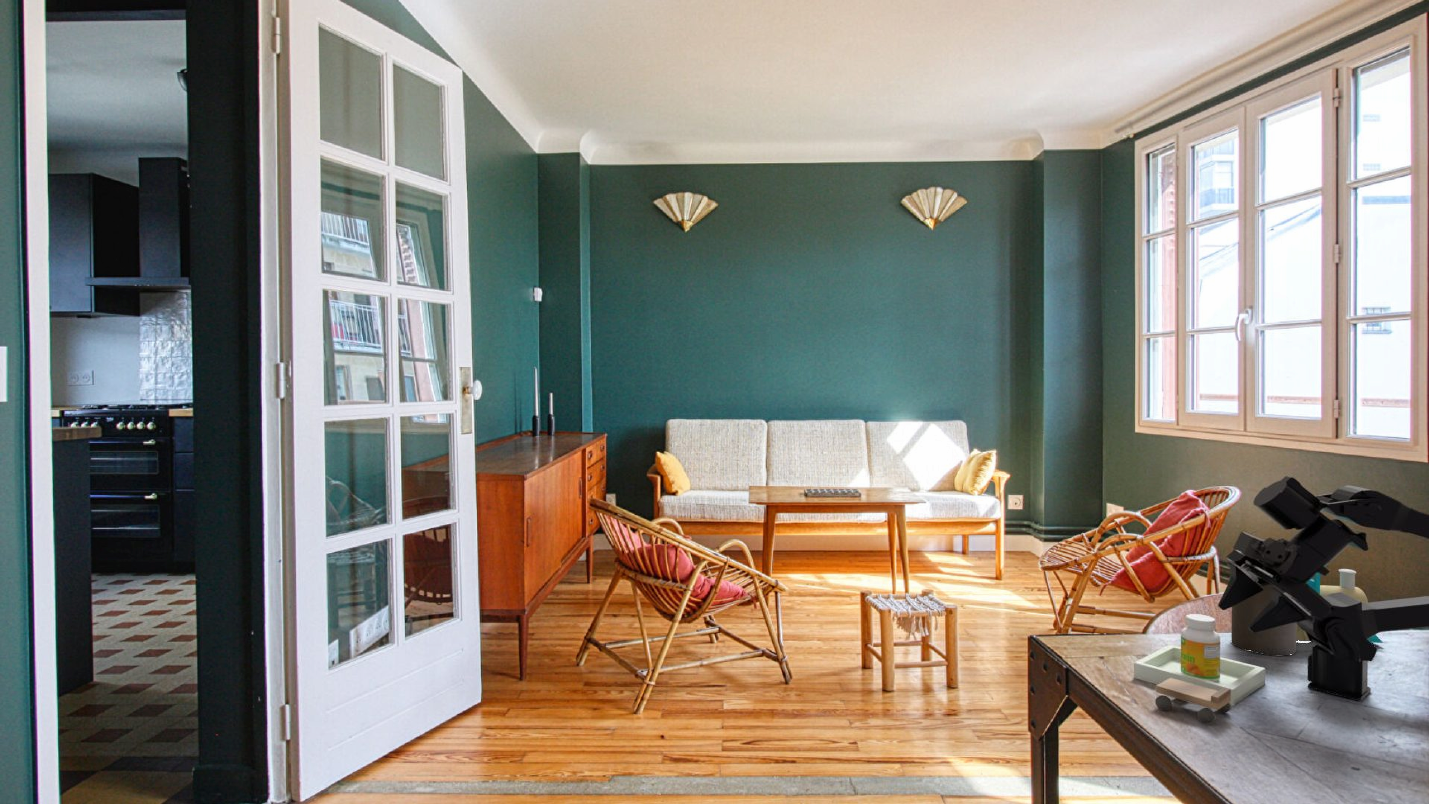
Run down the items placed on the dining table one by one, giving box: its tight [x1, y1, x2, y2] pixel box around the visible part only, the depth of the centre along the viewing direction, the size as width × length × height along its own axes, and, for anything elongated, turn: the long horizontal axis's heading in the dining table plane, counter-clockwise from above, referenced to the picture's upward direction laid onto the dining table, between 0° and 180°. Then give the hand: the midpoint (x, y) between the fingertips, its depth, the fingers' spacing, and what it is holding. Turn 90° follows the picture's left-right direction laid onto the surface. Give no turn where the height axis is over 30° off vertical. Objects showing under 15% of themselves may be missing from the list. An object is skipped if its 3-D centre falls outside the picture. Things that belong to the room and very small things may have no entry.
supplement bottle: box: [1180, 613, 1221, 682], centre depth 121 cm, size 5×5×10 cm
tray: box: [1133, 644, 1266, 707], centre depth 121 cm, size 14×14×2 cm
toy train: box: [1296, 568, 1384, 644], centre depth 141 cm, size 8×17×15 cm, turn 78°
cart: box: [1154, 678, 1232, 725], centre depth 110 cm, size 8×7×4 cm
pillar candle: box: [1230, 583, 1297, 656], centre depth 137 cm, size 10×10×15 cm
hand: (1235, 618), depth 121 cm, fingers open, 9 cm apart
